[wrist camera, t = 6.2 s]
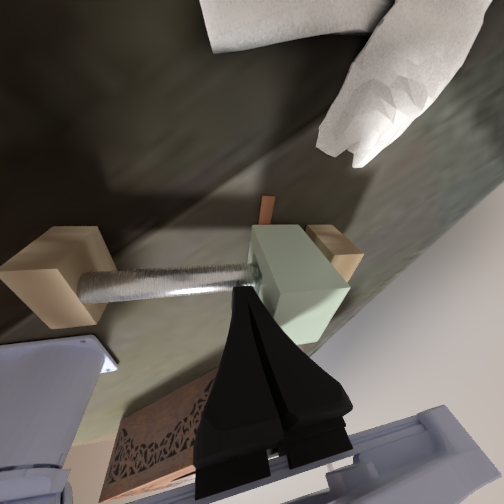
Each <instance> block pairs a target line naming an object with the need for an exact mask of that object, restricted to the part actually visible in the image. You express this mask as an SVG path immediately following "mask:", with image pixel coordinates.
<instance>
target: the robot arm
mask: <svg viewBox="0 0 504 504" xmlns="http://www.w3.org/2000/svg"><path fill="white" fill-rule="evenodd" d="M117 369H118V365H117V363H116V362H115V361H114V360H113V358H112V357H111V356H110V354H109V353H108V352H107V351H106V349H105V348H104V347H103V345H102V344H101V343H100V342H99V340H98V339H97V338H96V336H94V335H84V336H76V337H67V338H59V339H50V340H42V341H34V342H25V343H17V344H8V345H0V504H73V497H72V487H71V485H70V483H69V482H68V481H67V478H68V476H69V473H70V470H71V469H62V467H63V465H64V462H65V460H66V457H67V455H68V452H69V450H70V447H71V445H72V442H73V440H74V437H75V435H76V432H77V430H78V427H79V425H80V422H81V420H82V417H83V415H84V412H85V410H86V407H87V405H88V402H89V400H90V397H91V395H92V392H93V390H94V387H95V385H96V382H97V380H98V377H99V375H100V373H104V372H110V371H115V370H117ZM352 409H353V405H352V403H351V401H350V399H349V397H348V395H347V394H346V392H345V391H344V389H343V387H342V385H341V384H340V383H339V382H338V381H336V380H335V379H334V378H333V377H331V376H330V375H329V374H328V373H327V372H325V371H324V370H323V369H322V368H321V367H319V366H318V365H317V364H316V363H315V362H314V361H313V360H311V359H310V358H309V357H308V356H307V355H306V354H305V353H304V352H303V351H302V350H301V349H300V348H299V347H298V346H297V345H296V344H295V343H294V342H293V341H292V340H291V339H290V338H289V336H288V335H287V334H286V333H285V332H284V331H283V330H282V328H281V327H280V326H279V325H278V323H277V322H276V321H275V320H274V318H273V317H272V316H271V314H270V313H269V311H268V310H267V309H266V307H265V306H264V304H263V303H262V301H261V299H260V298H259V296H258V295H257V293H256V291H255V289H254V287H253V286H252V285H251V286H239V287H233V289H232V318H231V323H230V328H229V333H228V337H227V341H226V345H225V349H224V352H223V356H222V359H221V362H220V366H219V369H218V372H217V374H216V377H215V380H214V383H213V386H212V389H211V392H210V394H209V397H208V399H207V402H206V405H205V407H204V410H203V413H202V416H201V420H200V423H199V426H198V430H197V434H196V437H195V441H194V447H193V466H194V467H195V468H196V473H195V483H192V484H188V485H185V486H182V487H179V488H176V489H172V490H169V491H165V492H163V493H159V494H156V495H153V496H149V497H146V498H143V499H139V500H136V501H133V502H129V503H126V504H209V503H212V502H215V501H218V500H221V499H224V498H227V497H230V496H233V495H236V494H239V493H242V492H245V491H248V490H251V489H254V488H257V487H260V486H263V485H266V484H269V483H272V482H275V481H278V480H281V479H284V478H287V477H290V476H293V475H296V474H299V473H302V472H305V471H308V470H311V469H314V468H317V467H320V466H323V465H326V464H329V463H332V462H335V461H338V460H341V459H344V458H346V457H350V456H353V455H354V457H353V464H352V465H348V466H345V467H341V468H338V469H336V470H333V471H331V472H328V473H326V479H327V482H328V485H329V488H326V489H323V490H320V491H317V492H314V493H311V494H308V495H305V496H302V497H299V498H296V499H293V500H290V501H287V502H285V503H282V504H459V503H460V502H461V501H463V500H464V499H465V498H467V497H468V496H469V495H470V494H472V493H473V492H475V491H476V490H478V489H479V488H481V487H483V486H484V485H486V484H488V483H490V482H492V481H494V480H496V479H498V478H500V477H502V476H501V473H500V472H499V471H498V469H497V468H496V467H495V466H494V464H493V463H492V462H491V461H490V460H489V458H488V457H487V456H486V455H485V453H484V452H483V451H482V450H481V449H480V447H479V446H478V445H477V444H476V442H475V441H474V440H473V439H472V437H471V436H470V435H469V434H468V433H467V432H466V430H465V429H464V428H463V427H462V425H461V424H460V423H459V422H458V420H457V419H456V418H455V417H454V415H453V414H452V413H451V412H450V411H449V409H448V408H447V407H446V406H445V405H441V406H438V407H435V408H431V409H428V410H425V411H423V412H420V413H418V414H417V415H415V416H411V417H408V418H405V419H402V420H398V421H395V422H392V423H389V424H385V425H382V426H379V427H375V428H372V429H369V430H365V431H362V432H359V433H356V434H352V435H349V436H348V435H347V433H346V430H345V428H344V427H345V426H346V423H345V421H344V419H343V416H344V415H346V414H347V413H349V412H350V411H351V410H352ZM277 455H279V457H277V458H274V459H270V460H268V458H271V457H274V456H277Z"/></svg>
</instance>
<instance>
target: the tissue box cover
mask: <svg viewBox="0 0 504 504" xmlns="http://www.w3.org/2000/svg"><path fill="white" fill-rule="evenodd" d="M218 369H219V367H217V368H215V369H213V370H211V371H210V372H208V373H206V374H204V375H202V376H200V377H199V378H197V379H195V380H193V381H191V382H190V383H188V384H186V385H184V386H182V387H181V388H179V389H177V390H175V391H173V392H171V393H170V394H168V395H166V396H164V397H162V398H161V399H159V400H157V401H155V402H153V403H151V404H150V405H148V406H146V407H144V408H142V409H141V410H139V411H137V412H135V413H133V414H132V415H130V416H128V417H126V418H124V419H122V420H121V422H120V426H119V429H118V433H117V437H116V440H115V444H114V448H113V451H112V455H111V459H110V462H109V466H108V469H107V473H106V477H105V481H104V484H103V488H102V492H101V495H100V499H99V503H101V502H105V501H110V500H114V499H119V498H123V497H128V496H132V495H136V494H141V493H145V492H150V491H155V490H159V489H164V488H168V487H172V486H176V485H178V484H181V483H184V482H186V481H189V480H192V479H194V478H195V473H196V468H195V467H194V466H193V447H194V441H195V437H196V434H197V430H198V426H199V423H200V420H201V416H202V413H203V410H204V407H205V405H206V402H207V399H208V397H209V394H210V392H211V389H212V386H213V383H214V380H215V377H216V374H217V372H218Z"/></svg>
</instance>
